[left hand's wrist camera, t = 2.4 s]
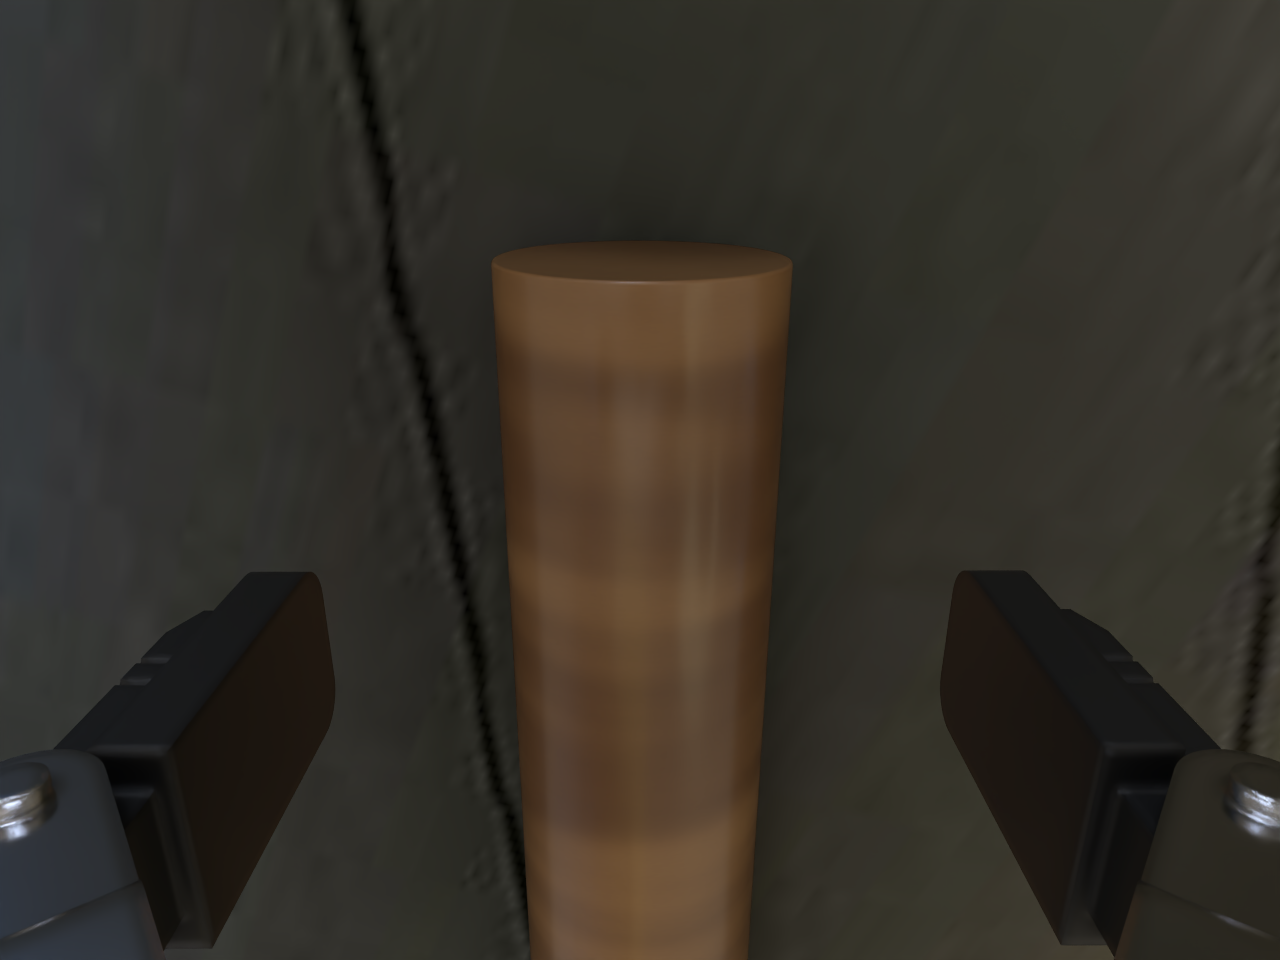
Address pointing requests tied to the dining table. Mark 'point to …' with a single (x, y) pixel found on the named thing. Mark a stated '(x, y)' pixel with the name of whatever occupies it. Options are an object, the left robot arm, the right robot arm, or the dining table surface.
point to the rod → (640, 582)
